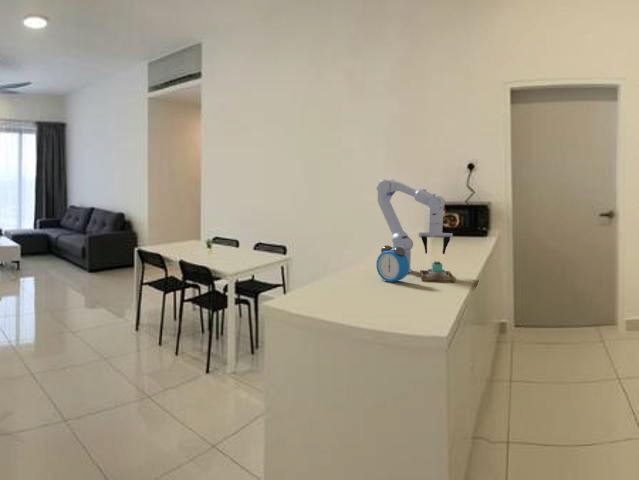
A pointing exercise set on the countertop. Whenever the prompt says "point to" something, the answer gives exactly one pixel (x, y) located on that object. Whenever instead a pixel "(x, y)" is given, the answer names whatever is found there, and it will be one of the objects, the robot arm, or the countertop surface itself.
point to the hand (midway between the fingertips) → (434, 253)
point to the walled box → (436, 276)
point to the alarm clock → (392, 264)
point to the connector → (436, 267)
